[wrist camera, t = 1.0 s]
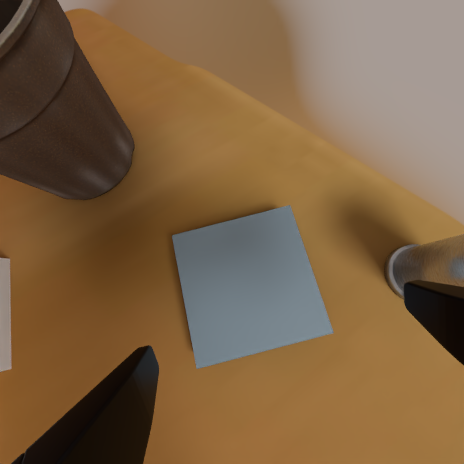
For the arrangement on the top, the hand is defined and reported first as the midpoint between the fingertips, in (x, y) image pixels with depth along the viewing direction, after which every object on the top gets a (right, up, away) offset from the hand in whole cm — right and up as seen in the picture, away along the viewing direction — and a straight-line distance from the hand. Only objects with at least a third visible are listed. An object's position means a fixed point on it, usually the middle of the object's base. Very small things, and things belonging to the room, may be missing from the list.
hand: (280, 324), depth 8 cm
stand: (0, -2, +16) cm, 16 cm away
